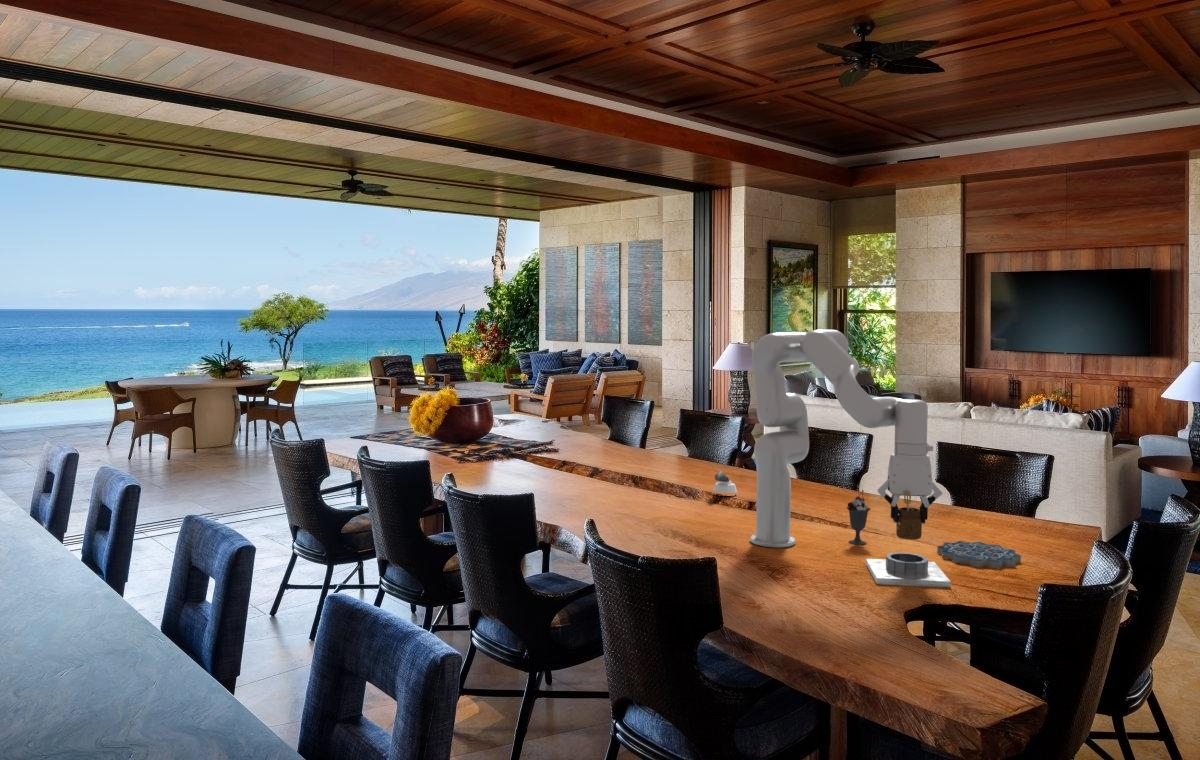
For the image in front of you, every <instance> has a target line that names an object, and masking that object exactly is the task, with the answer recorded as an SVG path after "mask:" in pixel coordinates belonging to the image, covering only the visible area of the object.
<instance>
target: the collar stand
mask: <svg viewBox="0 0 1200 760" xmlns="http://www.w3.org/2000/svg"><path fill="white" fill-rule="evenodd" d="M865 566H866V567H867V569H868V571H869V573H870V574H871V576H872V578H873V580H874V582H875V584H877V585H888V586H889V585H890V586H906V587H907V586H908V587H927V588H928V587H929V588H943V587H950V588H949V589H951V588H952V581H951V580H950V579H949V578H948V577H947V575H946V574H945V573H944V571H943V570H942V569H941V568H940V567H939V566H938V565H937V563H936V562H935V561H929V559H928V558H927V557H926V556H923V555H921V554H917V553H911V552H898V551H897V552H890V553H887V554H886V555H885V559H882V558H865Z"/></svg>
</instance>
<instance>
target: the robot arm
mask: <svg viewBox="0 0 1200 760" xmlns="http://www.w3.org/2000/svg"><path fill="white" fill-rule="evenodd" d="M849 346H850V345H849V340H848V338H847V337H846V336H845V335H844V333H843V332H841V331H839V330H837V329H813V330H811V331H805V332H804V331H802V332H801V331H800V332H799V331H792V332H791V331H790V332H788V331H786V332H785V331H778V332H776V331H775V332H771V333H768V334H765V335H763V336H761V337H760V338H759V339H758V340H757V341H756V343H755V344H754V346H753V348H752V351H751V367H752V371H753V378H754V393H755V403H756V404H755V406H756V417H757V419H758V422H759V424H761V425H762V426H763V427H766V428H778V427H779V431H773V432H767V433H765V434H762V435H761V436H759V438H757V439H756V440H755V441H756V442H755V443H754V449H753V453H754V454H753V455H754V460H755V465H756V513H755V514H756V515H755V516H756V522H755V525H756V526H755V534H752V535H751V536H750V543H752V544H754V545H757V546H761V547H767V548H789V547H792V546H794V545H795V544H796V538H795V537H794V536H791V506H792V505H791V504H792V502H791V498H792V494H791V493H792V481H791V479H792V478H791V474H790V471H789V469H788V465H790V464H795V463H799V462H802V461H803V460H805V458H806V457H807V456H808V454H809V450H810V434H809V418H808V417H809V416H808V411H807V406H806V404H805V401H804V399H802V398H801V397H800V396H799V395H798V394H796V393H793V392H787V390H786V388H787V387H786V378H785V374H784V372H783V370H782V368H781V367H780V364H782V363H799V362H800V363H801V362H802V363H803V362H804V363H805V362H811V364H812V365H813V367H815V368H816V369H817V370H818V371H820V373H821V374H822V375H823V376H824V377H825V378H826V379H827V380H828V381H829V382H830V383H831V384H832V385H833V389H834V393H835V395H836V398H837V399H836V400H837V401H838V403H839V404H840V406H841V407H842V409H844V411H845V412H846V413H847V414H848V415H849V416H850V417H851V418H852V419H853V420H854V421H855V422H857V423H858V424H859V425H860V426H862V427H864V428H867V429H876V428H883V427H884V428H885V427H886V428H887V427H894V450H893V451H894V453H891V454H890V457H889V459H888V461H889V462H888V467H887V468H888V469H887V477H886V481H885V482H884V483H883V484H881V486H880V487H878V488H877V490H876V491H877V493H878V494H879V495H880V496H881V497H883V499H885V500H886V501H887V503H888V504H889V505H890V518H891V519H892V521H893V522H894V523H897V522H898V515H899V513H898V510H899V506H898V502H899V500H900V497H901V496H903V497H904V491H905V496H906V497H907V492H908V497H909V492H911V497H914V496H915V497H916V496H917V497H919V498H920V502H921V505H920V506H919V510H920V513H921V514H920V517H921V520H922V524H923V525H924V524H925V525H926V520H928V515H929V514H928V512H929V511H928V509H929V508H930V506H931V505H932V504H933V503H934V502H935V501H936V500H937V499H938V498H940V497H941V496H942V495H943V492H942V491H941V489H940V488H939V487H938V486H937V484H935V483H934V482H933V474H932V473H933V471H932V463H931V457H930V455H929V454H928V453H929V452H933V451H934V446H933V445H930V444H928V419H929V418H928V412H929V411H928V410H929V408H928V407H929V406H928V403H927V402H926V401H924V400H922V399H911V398H910V399H909V398H908V399H903V398H898V397H894V396H879V397H872V396H871V395H870V394H869V393H867V391H865V389H864V388H862V387H861V385H860V384H859V382H858V380H857V375H858V373H859V371H860V365H859V363H858V361H857V360H856V359H854V357H852V355H851V354H849V353H848V352H849V348H850V347H849ZM886 491H888V492H890V494H891V496H890V495H889V494H888V493H886ZM927 496H928V497H927Z"/></svg>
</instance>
